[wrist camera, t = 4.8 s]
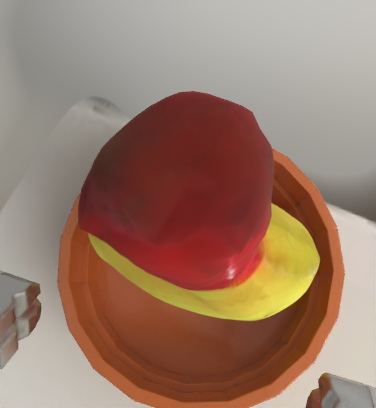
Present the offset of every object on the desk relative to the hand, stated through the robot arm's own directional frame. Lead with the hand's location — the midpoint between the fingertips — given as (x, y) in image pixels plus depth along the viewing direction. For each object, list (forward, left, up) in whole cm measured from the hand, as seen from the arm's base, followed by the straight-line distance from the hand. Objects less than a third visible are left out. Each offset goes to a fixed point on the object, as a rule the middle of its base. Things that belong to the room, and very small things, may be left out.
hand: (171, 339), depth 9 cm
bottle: (0, +4, -16) cm, 16 cm away
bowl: (0, +4, -16) cm, 17 cm away
